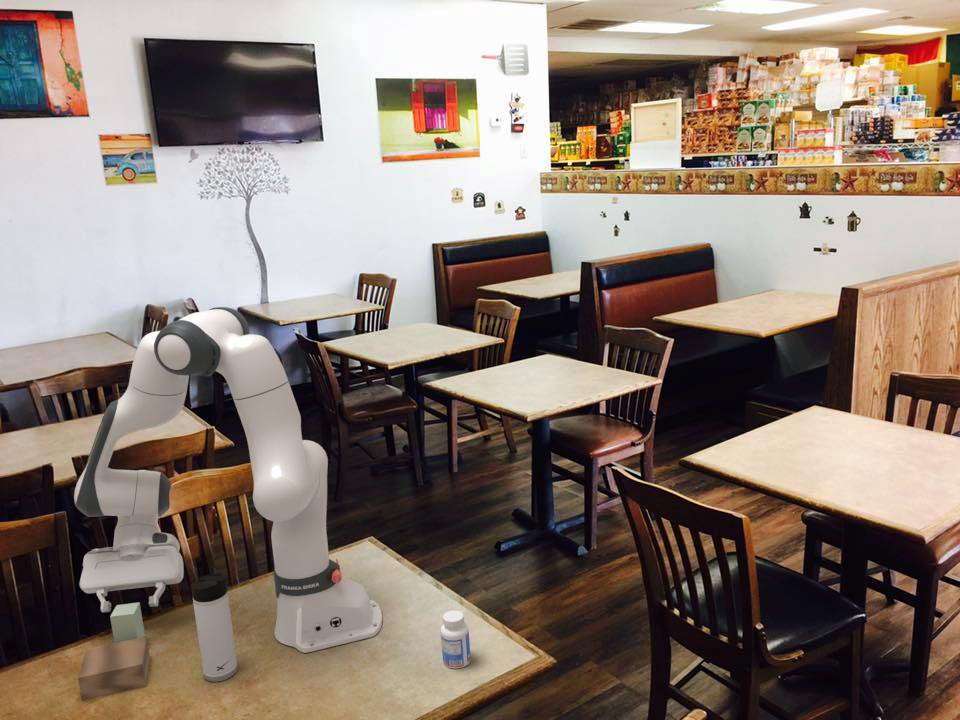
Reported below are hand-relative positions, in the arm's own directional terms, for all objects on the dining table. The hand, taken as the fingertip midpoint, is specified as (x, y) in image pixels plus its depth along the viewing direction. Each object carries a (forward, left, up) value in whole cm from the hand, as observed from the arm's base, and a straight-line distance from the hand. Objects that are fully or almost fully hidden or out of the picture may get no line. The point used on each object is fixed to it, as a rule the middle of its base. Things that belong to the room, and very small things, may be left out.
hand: (129, 608), depth 161 cm
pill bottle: (-65, +23, -8) cm, 69 cm away
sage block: (0, +3, -8) cm, 8 cm away
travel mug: (-20, +16, -8) cm, 27 cm away
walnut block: (0, +13, -8) cm, 15 cm away
